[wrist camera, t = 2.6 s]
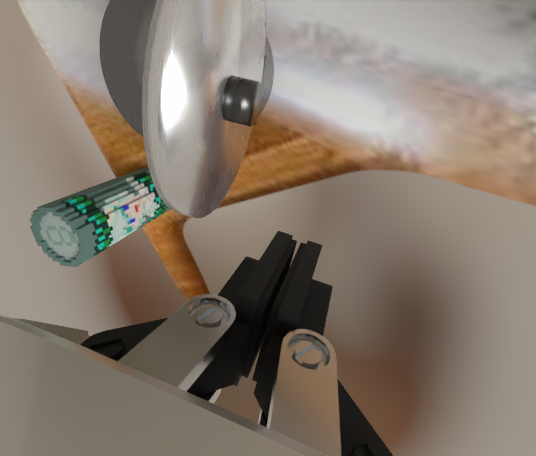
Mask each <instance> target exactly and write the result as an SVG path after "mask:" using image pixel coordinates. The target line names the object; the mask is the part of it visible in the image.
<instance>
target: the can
mask: <svg viewBox="0 0 536 456" xmlns="http://www.w3.org/2000/svg"><path fill="white" fill-rule="evenodd" d="M37 208H38V209H37V210H35V211H33V215H32V219H30V221H31V223H32V226H31V227H30V228H31V230H32V232H33V235H34V237H35V239H36V242H37V244H38V245H39V246H41V247H42V249H43V251H44V253H47V254H48V256H49V257H52V259H53V261H59V262H60V265H64V266H73V267H77V266H79V265H80V264H82V263H84V262H85V261H87V260H89V259H90V258H92V257H93V256H95V255H97V254H98V253H100V252H101V251H103V250H105V249H106V248H108V247H110V246H111V245H113V244H114V243H116V242H118V241H119V240H121V239H123V238H124V237H126V236H127V235H129V234H131V233H132V232H134V231H135V230H137V229H139V228H140V227H142V226H144V225H145V224H147V223H148V222H150V221H152V220H153V219H155V218H157V217H158V216H160V215H161V214H163V213H165V212H166V211H168V210H170V209H169V208H168V207H167V206H166V205H165V204H164V202H163V201H162V200H161V198H160V197H159V195H158V193H157V191H156V189H155V186H154V184H153V181H152V178H151V175H150V172H149V168H142V169H139V170H137V171H134V172H131V173H128V174H126V175H123V176H120V177H118V178H115V179H112V180H110V181H107V182H104V183H101V184H99V185H96V186H93V187H91V188H88V189H85V190H83V191H80V192H77V193H75V194H72V195H69V196H67V197H64V198H61V199H58V200H56V201H53V202H51V203H48V204H45V205H42V206H40V207H37Z"/></svg>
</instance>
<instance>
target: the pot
mask: <svg viewBox="0 0 536 456" xmlns="http://www.w3.org/2000/svg"><path fill="white" fill-rule="evenodd" d="M156 1H157V0H110V2H109V5H108V7H107V9H106V12H105V15H104V18H103V22H102V27H101V34H100V58H101V65H102V71H103V75H104V79H105V82H106V85H107V88H108V90H109V93H110V95H111V97H112V99H113V101H114V103H115V105H116V107H117V108H118V110H119V111H120V113H121V114H122V116H123V117H124V118H125V120H126V121H127V122H128V123H129V124H130V125H131V126H132V127H133V128H134V129H135V130H136V131H137V132H138V133H139V134H141V135H142V136H143V124H142V87H143V72H144V63H145V53H146V47H147V41H148V36H149V30H150V24H151V20H152V16H153V12H154V8H155V5H156ZM265 55H267V59H266V65H265V71H264V77H263V83H262V89H261V100H260V106H259V110H258V114H257V117H258V116H259V115H260V113H261V112H262V110H263V109H264V107H265V105H266V103H267V101H268V98H269V95H270V92H271V88H272V83H273V57H272V52H271V48H270V45H269V42H268V39H267V37H266V41H265Z"/></svg>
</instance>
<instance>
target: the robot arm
mask: <svg viewBox="0 0 536 456" xmlns="http://www.w3.org/2000/svg"><path fill="white" fill-rule="evenodd" d="M296 243H297V241H295V240H292V235H289V234H286V233H283V232H280V231H278V232H277V234H276V235H275V237H274V238H273V240H272V241H271V243H270V244H269V246H268V247H267V249H266V251H265V252H264V254H263V255H262V257H261V258H260V260H256V259H253V258H250V257H245V259H244V260H243V261H242V263H241V264H240V265H239V267H238V268H237V270H236V271H235V272H234V274H233V275H232V276H231V278H230V279H229V280H228V282H227V283H226V284H225V286H224V287H223V289H222V290H221V291H220V293H219V294H218V295H212V294H205V295H199V296H196V297H194V298H192V299H191V300H189V301H188V302H187V303H185V304H184V305H183V306H182V307H181V308H180V309H179V310H177V311H176V312H175V313H174V314H173V315H171V317H169V318H165V319H160V320H155V321H151V322H146V323H141V324H136V325H131V326H126V327H121V328H117V329H112V330H107V331H103V332H100V333H97V334H95V335H93V336H89V335H88V331H85V330H80V329H74V328H69V327H64V326H58V325H52V324H47V323H42V322H37V321H31V320H26V319H14V318H9V317H5V316H1V315H0V456H393V455H392V454H391V453H390V451H389V450H388V448H387V447H386V445H385V444H384V443H383V441H382V440H381V439H380V437H379V436H378V434H377V433H376V431H375V430H374V429H373V427H372V426H371V425H370V423H369V422H368V420H367V419H366V418H365V417H364V415H363V414H362V412H361V411H360V409H359V408H358V407H357V405H356V404H355V403H354V401H353V400H352V398H351V397H350V396H349V394H348V393H347V391H346V390H345V389H344V387H343V386H342V384H341V383H340V382H339V380H338V379H337V364H336V355H335V351H334V349H333V347H332V345H331V344H330V343H329V342H328V341H327V339H326V338H324V337H323V332H324V327H325V322H326V317H327V312H328V307H329V302H330V297H331V292H332V286H331V285H328V284H325V283H322V282H319V281H316V280H313V279H312V277H313V273H314V270H315V267H316V263H317V260H318V257H319V254H320V251H321V248H322V245H320V244H317V243H314V242H311V241H308V242H307V244H305V243H301V244H300V246H299V248H298V250H297V253H296V255H295V257H294V259H293V261H292V264H291V260H292V257H293V254H294V250H295V246H296ZM290 264H291V266H290ZM261 345H262V346H261ZM260 348H261V349H260ZM259 350H260V353H259V357H258V361H257V364H256V368H255V372H254V376H253V380H254V381H256V382H257V384H256V387H255V391H254V395H255V397H256V399H257V401H258V403H259V405H260V407H261V412H260V415H259V421H258V423H255V422H253V421H251V420H249V419H246V418H244V417H242V416H240V415H238V414H235V413H233V412H231V411H228V410H226V409H224V408H222V407H220V406H217V405H215V404H214V402H215V401H216V399H217V398H218V396H219V394H220V391H221V389H222V388H224V387H227V386H230V385H233V384H234V385H236V386H237V385H238V382H239V380H240V378H241V376H244V377H246V378H247V377H248V375H249V373H250V371H251V369H252V366H253V364H254V362H255V359H256V357H257V354H258V352H259Z"/></svg>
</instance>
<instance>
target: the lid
mask: <svg viewBox="0 0 536 456" xmlns="http://www.w3.org/2000/svg"><path fill="white" fill-rule="evenodd" d="M265 41H266V0H157V1H156V5H155V8H154V12H153V16H152V20H151V24H150V30H149V36H148V41H147V47H146V53H145V63H144V72H143V87H142V124H143V137H144V146H145V153H146V158H147V163H148V168H149V172H150V175H151V178H152V181H153V184H154V186H155V189H156V191H157V193H158V195H159V197H160V198H161V200H162V201H163V202H164V204H165V205H166V206H167V207H168V208H169V209H171V210H172V211H174V212H177V213H179V214H183V215H186V216H190V217H193V218H202V217H205V216H207V215H209V214H210V213H212V212H213V211H214V210H215V209H216V208H217V207H218V206H219V204H220V203H221V202H222V200H223V199H224V197H225V196H226V194H227V193H228V191H229V189H230V187H231V185H232V183H233V181H234V179H235V177H236V175H237V173H238V170H239V168H240V165H241V163H242V160H243V157H244V154H245V151H246V148H247V145H248V142H249V138H250V134H251V131H252V127H253V125H255V124H256V118H257V114H258V110H259V106H260V100H261V89H262V83H263V77H264V71H265V65H266V59H267V55H265Z"/></svg>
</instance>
